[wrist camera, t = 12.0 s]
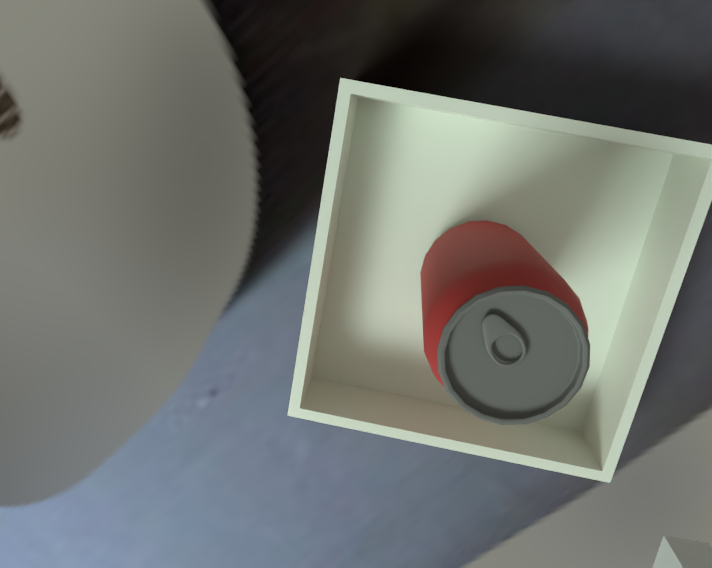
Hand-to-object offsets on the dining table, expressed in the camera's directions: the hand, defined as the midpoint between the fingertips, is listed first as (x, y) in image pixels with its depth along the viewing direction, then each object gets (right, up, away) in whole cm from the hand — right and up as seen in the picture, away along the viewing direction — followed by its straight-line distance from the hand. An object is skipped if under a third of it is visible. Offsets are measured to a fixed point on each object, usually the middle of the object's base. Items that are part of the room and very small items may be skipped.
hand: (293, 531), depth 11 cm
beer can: (+8, +5, +22) cm, 24 cm away
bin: (+8, +5, +22) cm, 24 cm away
